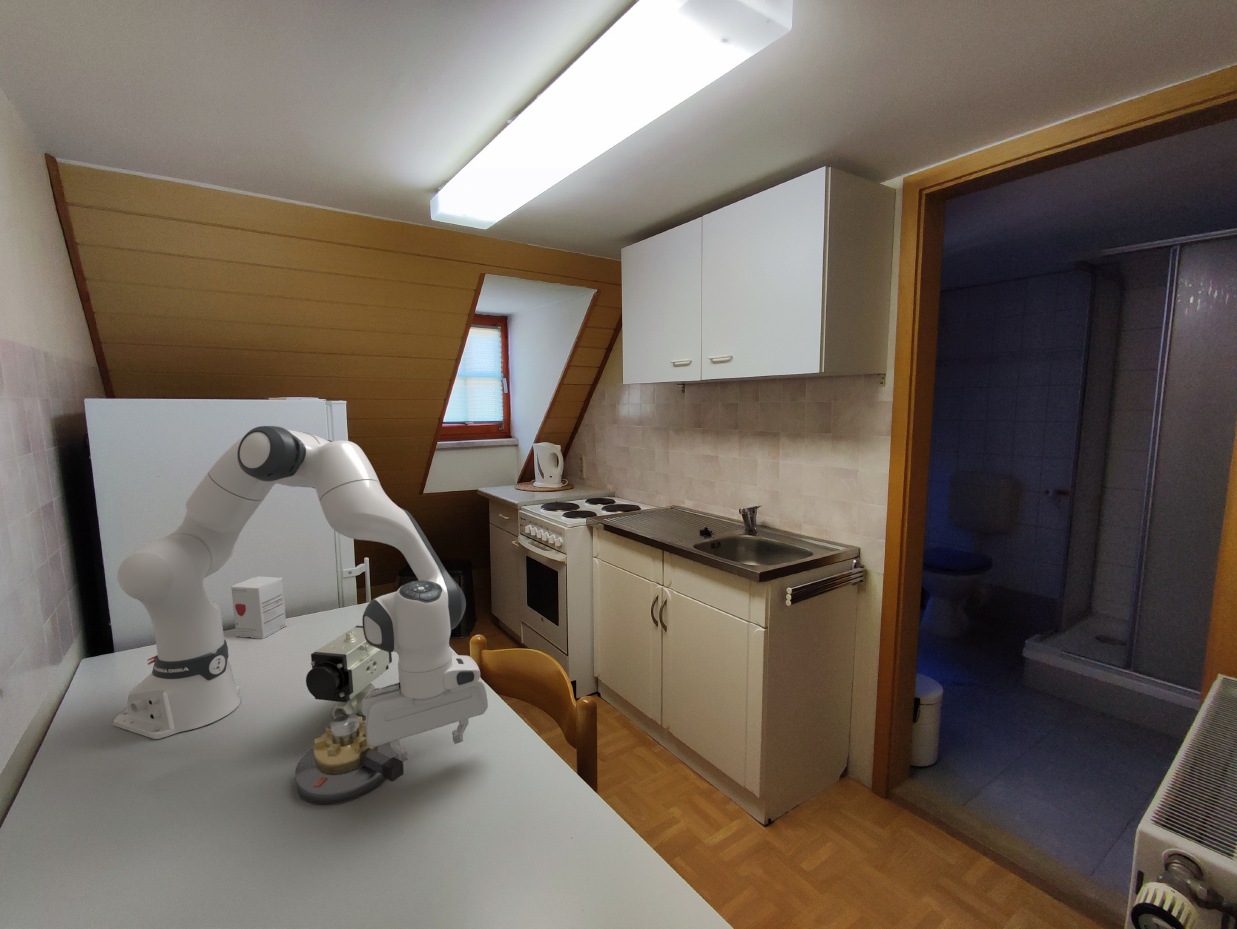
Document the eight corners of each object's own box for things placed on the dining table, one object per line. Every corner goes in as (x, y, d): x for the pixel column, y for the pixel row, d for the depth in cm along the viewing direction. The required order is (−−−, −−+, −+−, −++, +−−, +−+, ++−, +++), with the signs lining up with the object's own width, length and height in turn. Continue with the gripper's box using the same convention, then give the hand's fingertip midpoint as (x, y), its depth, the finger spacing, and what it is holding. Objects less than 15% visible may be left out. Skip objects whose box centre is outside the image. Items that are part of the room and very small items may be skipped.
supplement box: (234, 637, 154) (229, 586, 152) (260, 624, 162) (255, 575, 160) (263, 639, 152) (258, 587, 150) (287, 626, 161) (283, 576, 159)
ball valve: (347, 741, 106) (340, 654, 104) (309, 736, 108) (301, 650, 105) (401, 691, 123) (396, 616, 121) (368, 688, 125) (362, 614, 123)
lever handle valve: (302, 761, 95) (300, 739, 95) (355, 731, 104) (353, 710, 103) (371, 799, 86) (369, 774, 85) (422, 762, 94) (421, 739, 94)
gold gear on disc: (273, 799, 91) (268, 745, 90) (338, 739, 106) (334, 693, 105) (361, 810, 88) (356, 754, 87) (414, 747, 104) (411, 699, 102)
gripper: (362, 702, 87) (368, 782, 89) (488, 668, 97) (492, 740, 99) (358, 684, 92) (364, 760, 94) (478, 654, 103) (482, 723, 104)
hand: (430, 750), depth 97 cm, fingers open, 8 cm apart
